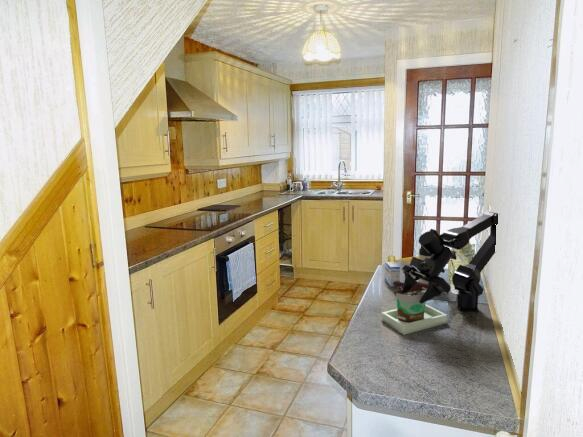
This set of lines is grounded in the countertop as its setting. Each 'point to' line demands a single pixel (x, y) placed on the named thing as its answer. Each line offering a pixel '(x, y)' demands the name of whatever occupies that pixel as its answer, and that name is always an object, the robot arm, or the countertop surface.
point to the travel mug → (422, 256)
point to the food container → (410, 306)
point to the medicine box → (392, 273)
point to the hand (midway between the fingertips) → (411, 298)
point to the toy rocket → (416, 287)
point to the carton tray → (430, 320)
